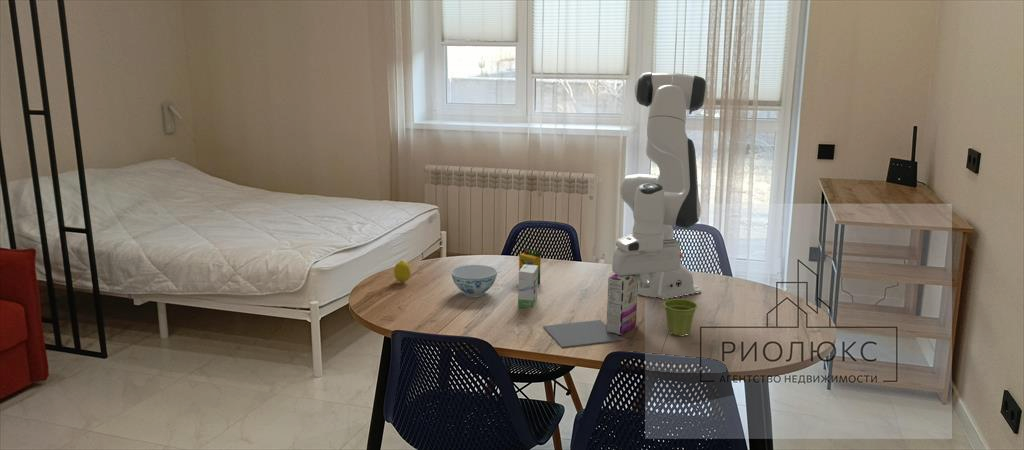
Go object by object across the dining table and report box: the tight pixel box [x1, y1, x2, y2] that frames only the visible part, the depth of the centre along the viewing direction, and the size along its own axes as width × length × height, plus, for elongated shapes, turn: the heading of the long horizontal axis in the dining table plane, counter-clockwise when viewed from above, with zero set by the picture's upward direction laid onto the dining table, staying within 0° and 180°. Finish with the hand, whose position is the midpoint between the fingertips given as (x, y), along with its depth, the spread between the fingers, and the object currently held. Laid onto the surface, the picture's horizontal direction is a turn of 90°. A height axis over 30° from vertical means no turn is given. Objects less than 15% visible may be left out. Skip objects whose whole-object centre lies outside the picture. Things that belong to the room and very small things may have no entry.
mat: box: [542, 319, 624, 349], centre depth 222 cm, size 18×16×1 cm
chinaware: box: [450, 264, 498, 298], centre depth 255 cm, size 15×15×8 cm
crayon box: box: [518, 247, 542, 285], centre depth 266 cm, size 7×3×12 cm, turn 49°
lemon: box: [393, 260, 411, 284], centre depth 266 cm, size 6×6×8 cm
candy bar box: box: [606, 273, 639, 336], centre depth 223 cm, size 11×5×16 cm, turn 148°
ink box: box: [517, 264, 539, 309], centre depth 245 cm, size 9×5×12 cm, turn 168°
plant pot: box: [663, 298, 698, 336], centre depth 222 cm, size 9×9×9 cm
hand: (645, 287), depth 224 cm, fingers closed
